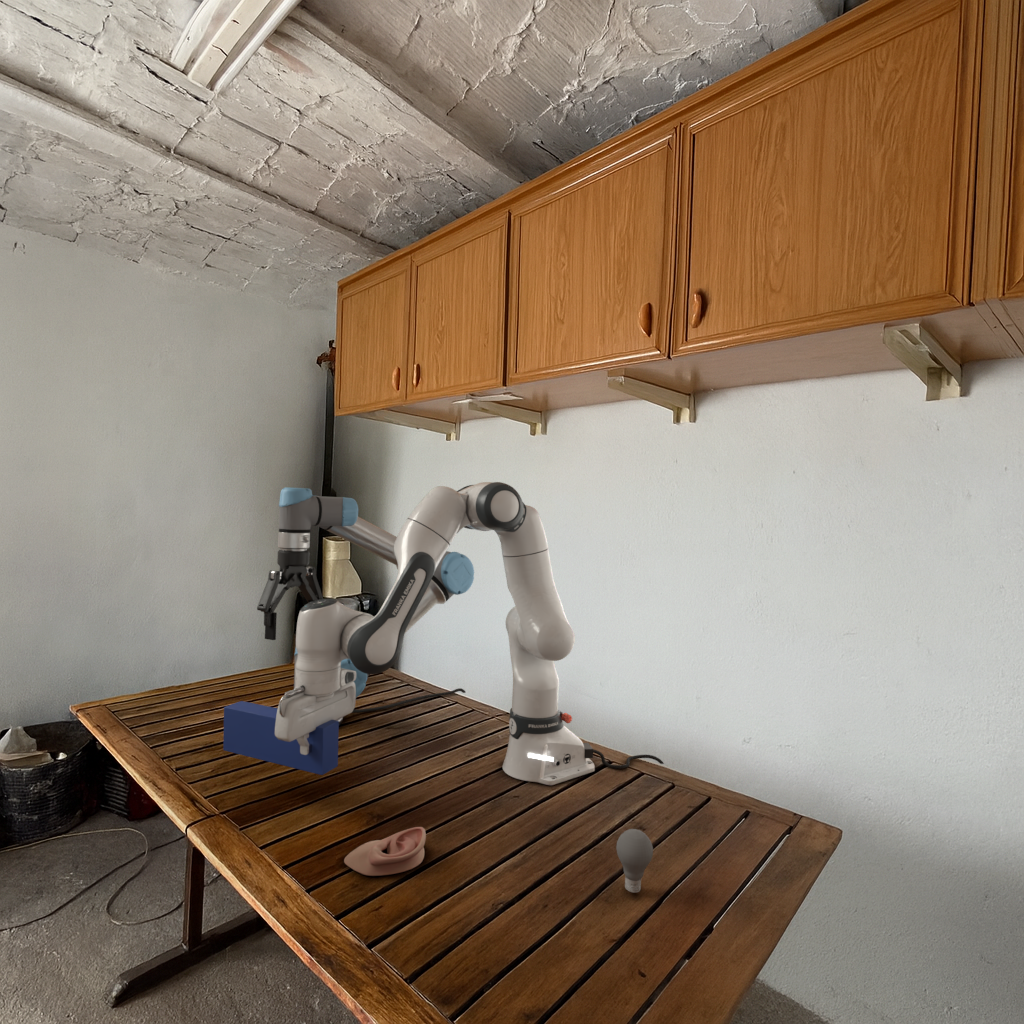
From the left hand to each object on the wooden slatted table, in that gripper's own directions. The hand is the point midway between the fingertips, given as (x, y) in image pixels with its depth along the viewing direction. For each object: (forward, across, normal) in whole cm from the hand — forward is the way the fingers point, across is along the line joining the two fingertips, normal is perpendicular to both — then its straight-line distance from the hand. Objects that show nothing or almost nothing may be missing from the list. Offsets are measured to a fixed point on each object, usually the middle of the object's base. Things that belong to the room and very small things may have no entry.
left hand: (290, 634), depth 158 cm
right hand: (+16, -21, -27) cm, 38 cm away
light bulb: (+28, -18, -92) cm, 97 cm away
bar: (+20, -21, -17) cm, 34 cm away
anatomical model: (+28, -29, -50) cm, 65 cm away
